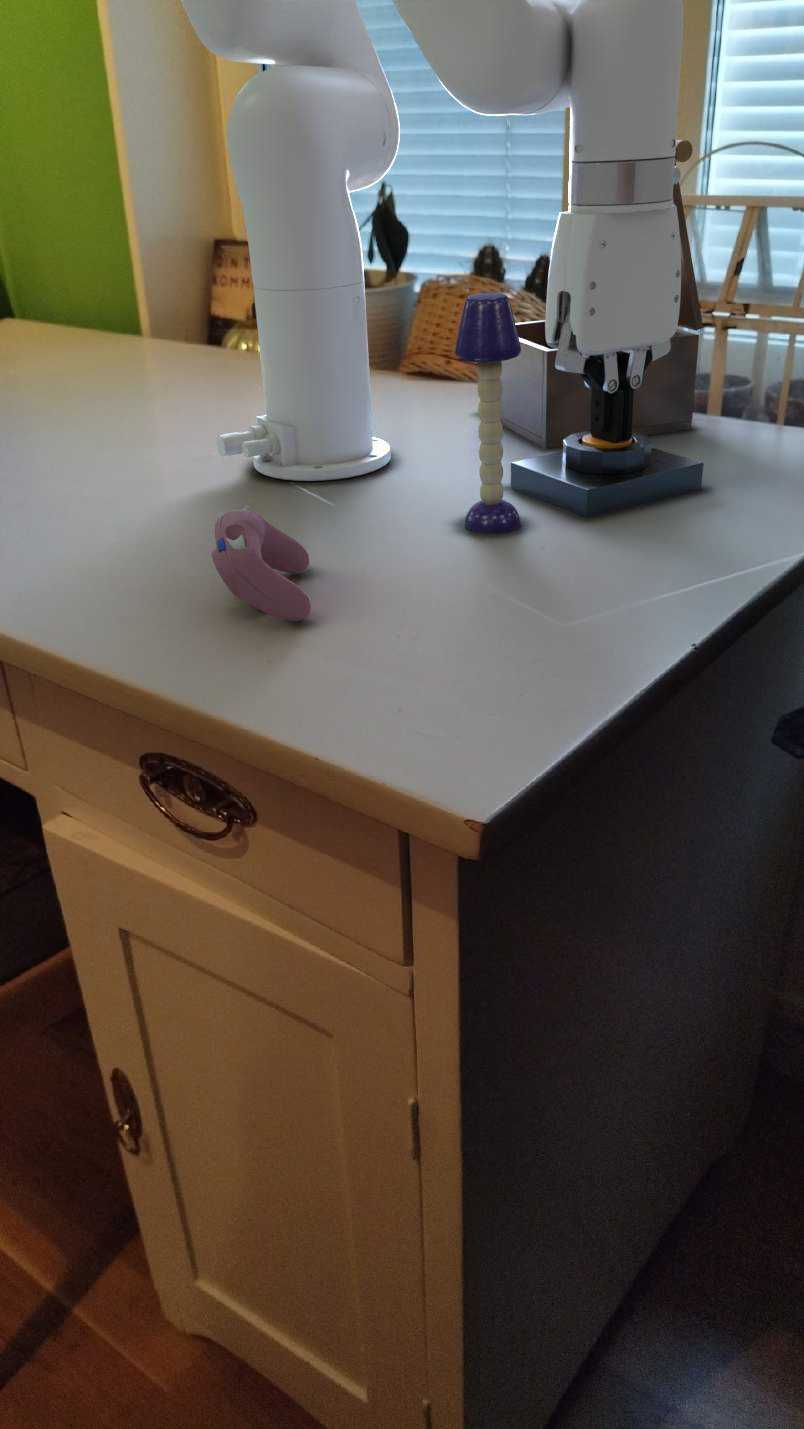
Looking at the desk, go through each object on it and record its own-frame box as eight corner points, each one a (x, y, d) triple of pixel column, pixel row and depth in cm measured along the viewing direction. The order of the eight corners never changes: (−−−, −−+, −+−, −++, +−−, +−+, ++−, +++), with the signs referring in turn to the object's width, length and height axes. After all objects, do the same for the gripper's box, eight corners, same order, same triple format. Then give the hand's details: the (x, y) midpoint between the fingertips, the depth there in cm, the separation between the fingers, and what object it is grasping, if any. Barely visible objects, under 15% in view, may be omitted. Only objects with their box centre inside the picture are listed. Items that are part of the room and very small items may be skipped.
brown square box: (545, 448, 103) (547, 351, 99) (481, 414, 116) (480, 326, 112) (691, 429, 107) (699, 334, 103) (614, 397, 120) (618, 312, 116)
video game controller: (259, 592, 78) (204, 510, 75) (315, 561, 77) (261, 476, 74) (255, 650, 69) (192, 560, 66) (317, 616, 69) (256, 523, 65)
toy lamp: (516, 537, 81) (517, 299, 74) (454, 536, 82) (449, 300, 74) (523, 517, 86) (525, 289, 78) (463, 515, 87) (460, 290, 79)
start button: (602, 469, 88) (603, 447, 87) (571, 458, 91) (572, 437, 90) (641, 460, 89) (642, 439, 89) (609, 450, 92) (610, 429, 92)
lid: (664, 143, 94) (718, 120, 94) (580, 143, 107) (628, 123, 107) (696, 331, 102) (746, 308, 103) (615, 309, 116) (659, 290, 116)
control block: (586, 518, 85) (588, 467, 83) (510, 488, 92) (510, 440, 90) (701, 489, 90) (706, 440, 88) (620, 463, 98) (623, 417, 96)
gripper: (662, 180, 87) (649, 415, 95) (507, 194, 80) (508, 445, 89) (733, 181, 81) (712, 431, 89) (572, 197, 74) (566, 465, 83)
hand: (610, 438), depth 89 cm, fingers closed
